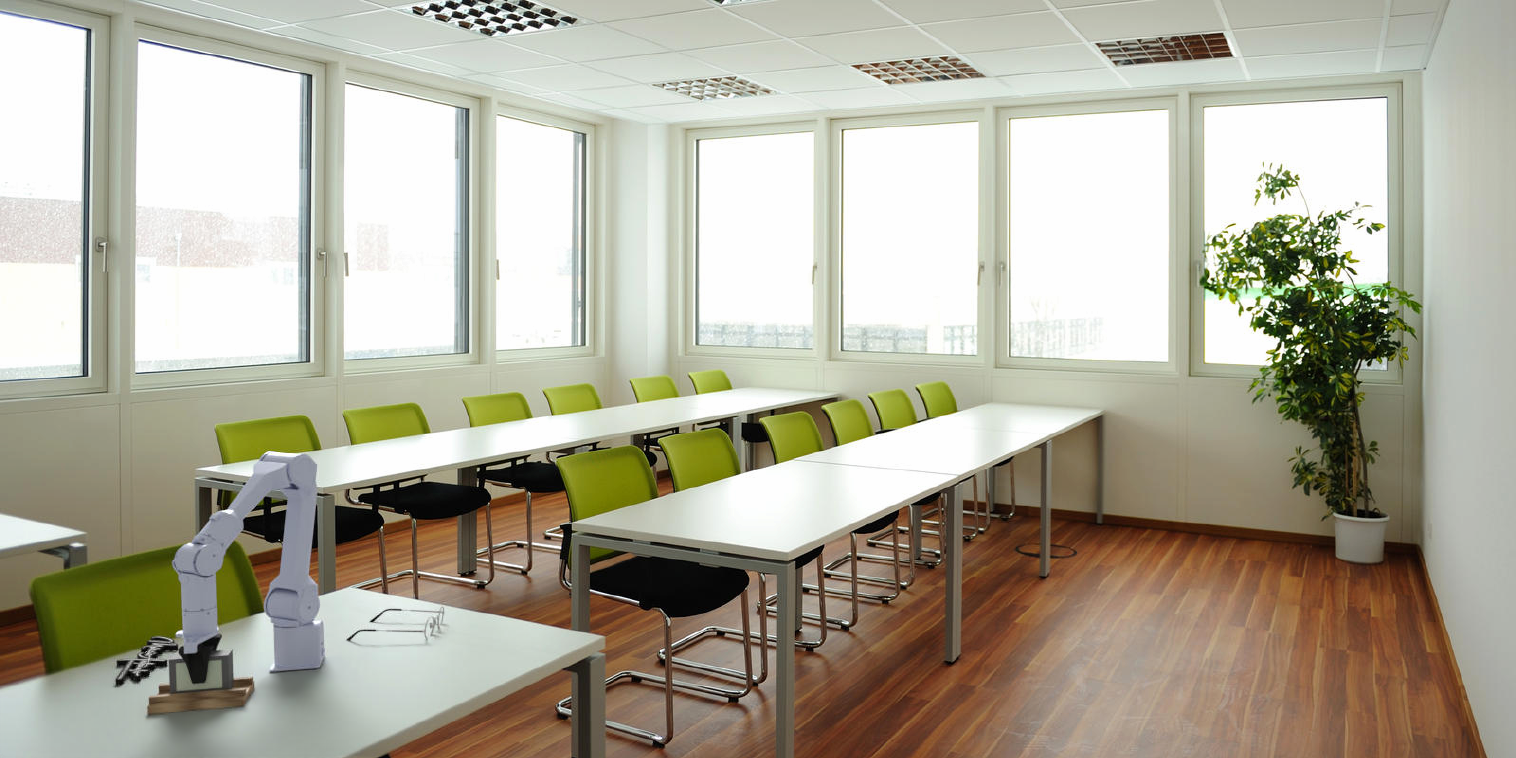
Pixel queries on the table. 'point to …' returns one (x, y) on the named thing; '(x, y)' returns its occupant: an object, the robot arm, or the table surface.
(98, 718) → the table surface
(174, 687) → the grey block
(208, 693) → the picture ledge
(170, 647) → the nameplate
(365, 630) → the eyeglasses
